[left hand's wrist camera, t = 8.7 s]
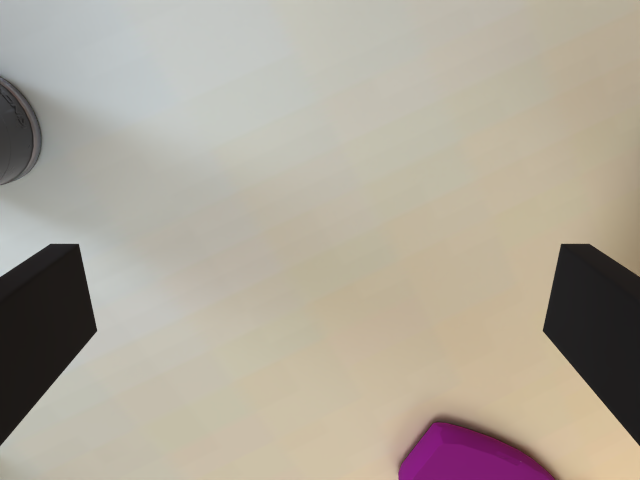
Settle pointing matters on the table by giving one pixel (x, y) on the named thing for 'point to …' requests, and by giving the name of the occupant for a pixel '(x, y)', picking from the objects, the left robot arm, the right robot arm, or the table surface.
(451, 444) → the spray bottle
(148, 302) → the table surface
